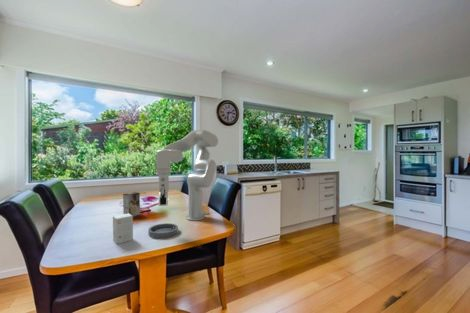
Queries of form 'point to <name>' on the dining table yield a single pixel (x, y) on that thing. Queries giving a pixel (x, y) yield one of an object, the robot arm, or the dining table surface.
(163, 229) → the round bowl
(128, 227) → the small box
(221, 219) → the dining table surface
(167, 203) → the white egg
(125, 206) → the coffee box
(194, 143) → the robot arm
